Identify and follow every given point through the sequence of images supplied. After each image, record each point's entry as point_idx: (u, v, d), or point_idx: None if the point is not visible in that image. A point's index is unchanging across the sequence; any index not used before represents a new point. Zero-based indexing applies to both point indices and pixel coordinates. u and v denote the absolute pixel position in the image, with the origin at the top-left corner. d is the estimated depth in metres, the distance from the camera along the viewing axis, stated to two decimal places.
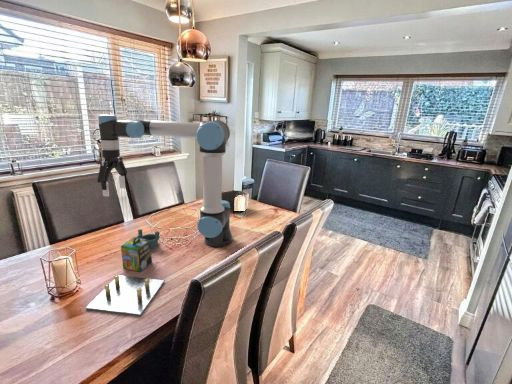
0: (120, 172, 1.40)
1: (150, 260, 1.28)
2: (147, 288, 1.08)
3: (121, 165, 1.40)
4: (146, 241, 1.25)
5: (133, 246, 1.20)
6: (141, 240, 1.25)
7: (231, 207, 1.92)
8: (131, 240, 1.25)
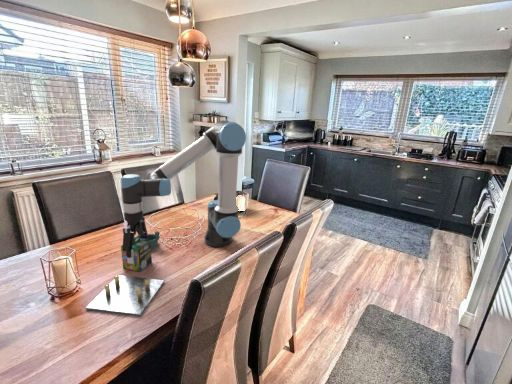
0: (141, 234, 1.27)
1: (150, 260, 1.28)
2: (147, 288, 1.08)
3: (142, 226, 1.27)
4: (146, 241, 1.25)
5: (133, 246, 1.20)
6: (141, 240, 1.25)
7: None
8: None
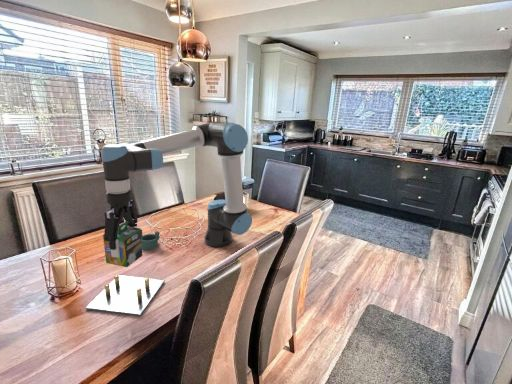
0: (129, 222, 1.03)
1: (140, 253, 1.04)
2: (147, 288, 1.08)
3: (131, 211, 1.03)
4: (135, 229, 1.01)
5: (118, 235, 0.96)
6: (129, 228, 1.01)
7: None
8: None
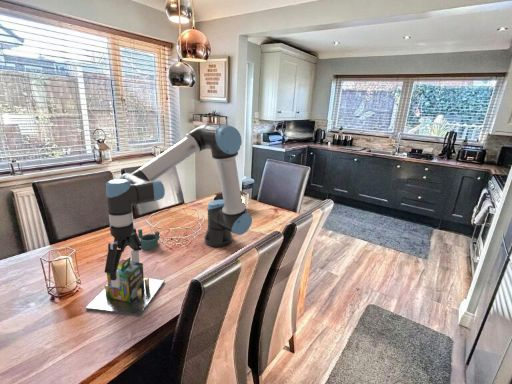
0: (133, 247, 1.07)
1: (142, 287, 1.08)
2: (147, 288, 1.08)
3: (134, 238, 1.07)
4: (137, 265, 1.04)
5: (122, 272, 0.99)
6: (131, 264, 1.05)
7: None
8: (119, 264, 1.04)
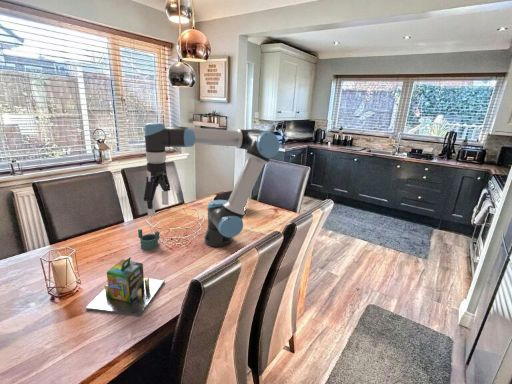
0: (164, 187, 1.24)
1: (142, 287, 1.08)
2: (147, 288, 1.08)
3: (165, 179, 1.24)
4: (137, 265, 1.04)
5: (122, 272, 0.99)
6: (131, 264, 1.05)
7: None
8: (119, 264, 1.04)
